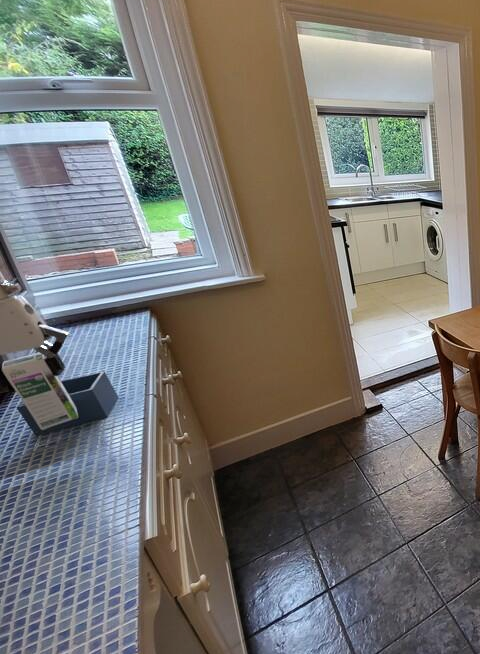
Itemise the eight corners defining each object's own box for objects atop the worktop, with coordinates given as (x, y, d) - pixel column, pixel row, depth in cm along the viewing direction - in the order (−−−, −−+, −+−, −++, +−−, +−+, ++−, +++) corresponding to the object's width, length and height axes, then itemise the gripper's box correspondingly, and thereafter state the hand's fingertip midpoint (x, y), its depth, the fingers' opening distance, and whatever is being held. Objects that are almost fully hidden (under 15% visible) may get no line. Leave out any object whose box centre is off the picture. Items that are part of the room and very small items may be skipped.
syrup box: (41, 431, 83) (0, 369, 77) (40, 420, 87) (1, 360, 81) (79, 418, 87) (43, 358, 81) (77, 408, 91) (42, 349, 85)
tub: (35, 436, 90) (16, 407, 87) (53, 413, 98) (35, 386, 95) (107, 417, 95) (91, 389, 92) (118, 397, 103) (104, 371, 100)
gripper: (53, 281, 82) (96, 359, 90) (-77, 300, 74) (-18, 384, 82) (38, 291, 76) (85, 373, 84) (-105, 312, 69) (-39, 401, 76)
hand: (34, 378), depth 83 cm, fingers closed on syrup box, 6 cm apart
